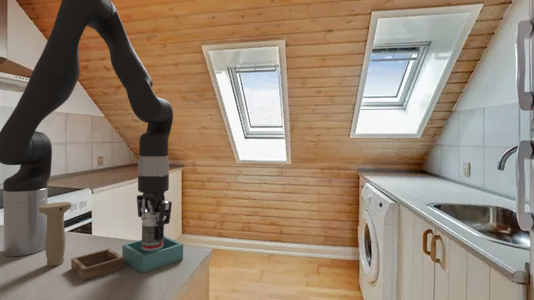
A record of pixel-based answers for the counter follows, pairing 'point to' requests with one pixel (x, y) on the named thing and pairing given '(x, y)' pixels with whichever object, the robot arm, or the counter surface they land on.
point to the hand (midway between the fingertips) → (153, 236)
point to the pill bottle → (150, 234)
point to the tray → (152, 255)
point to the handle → (55, 231)
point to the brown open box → (96, 270)
